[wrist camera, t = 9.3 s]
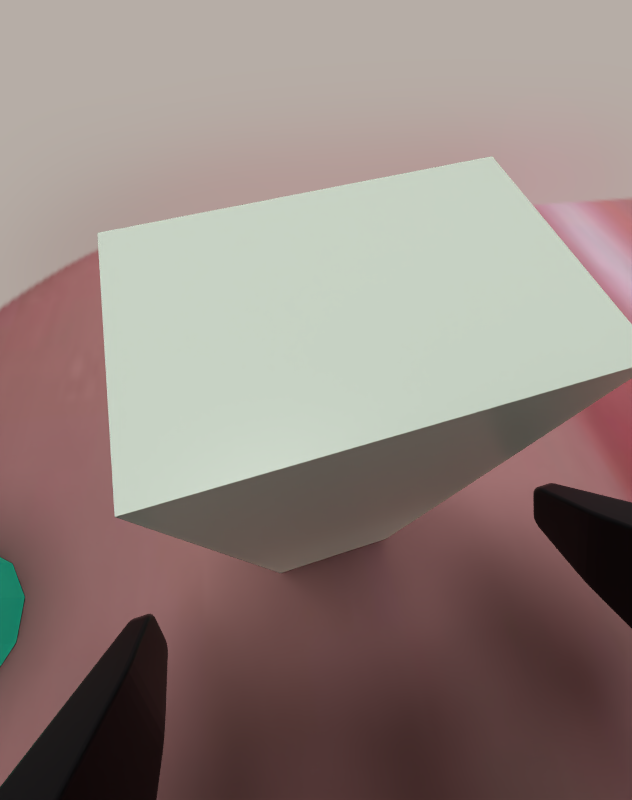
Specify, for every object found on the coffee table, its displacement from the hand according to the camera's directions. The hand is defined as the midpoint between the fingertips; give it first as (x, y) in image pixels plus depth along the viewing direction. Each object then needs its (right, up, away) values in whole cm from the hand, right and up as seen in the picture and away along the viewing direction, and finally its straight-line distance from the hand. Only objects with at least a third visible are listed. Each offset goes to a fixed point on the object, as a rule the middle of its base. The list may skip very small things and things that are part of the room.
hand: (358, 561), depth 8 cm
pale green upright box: (-1, -2, +8) cm, 8 cm away
